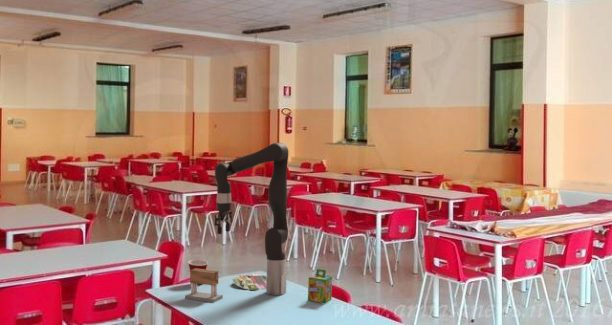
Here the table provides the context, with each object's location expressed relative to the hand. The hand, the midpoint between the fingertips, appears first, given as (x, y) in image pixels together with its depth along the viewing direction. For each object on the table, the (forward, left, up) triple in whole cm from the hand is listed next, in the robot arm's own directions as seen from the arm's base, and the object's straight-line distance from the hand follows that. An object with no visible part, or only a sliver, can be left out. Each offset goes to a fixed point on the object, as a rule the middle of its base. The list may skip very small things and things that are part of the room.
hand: (223, 232), depth 313 cm
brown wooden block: (-3, +24, -21) cm, 32 cm away
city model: (-14, -9, -29) cm, 33 cm away
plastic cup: (+14, +2, -28) cm, 32 cm away
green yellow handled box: (-55, +3, -28) cm, 62 cm away
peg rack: (-3, +24, -28) cm, 37 cm away
